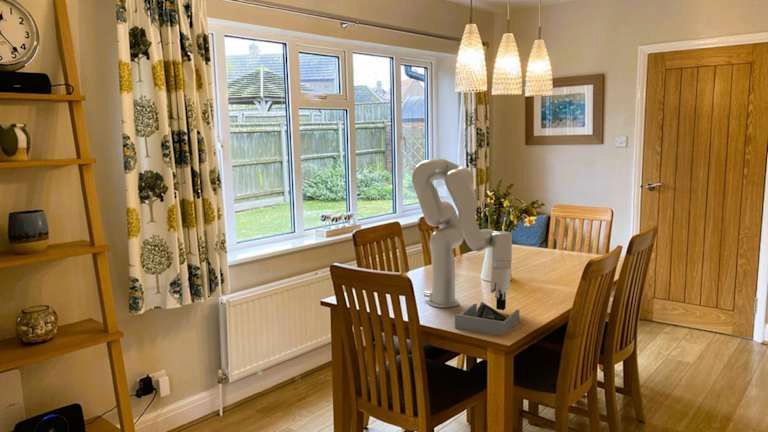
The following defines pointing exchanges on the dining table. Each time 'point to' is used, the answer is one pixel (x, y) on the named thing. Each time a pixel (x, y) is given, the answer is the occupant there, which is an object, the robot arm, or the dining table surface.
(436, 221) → the robot arm
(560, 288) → the dining table surface
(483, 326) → the box
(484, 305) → the chocolate cake
